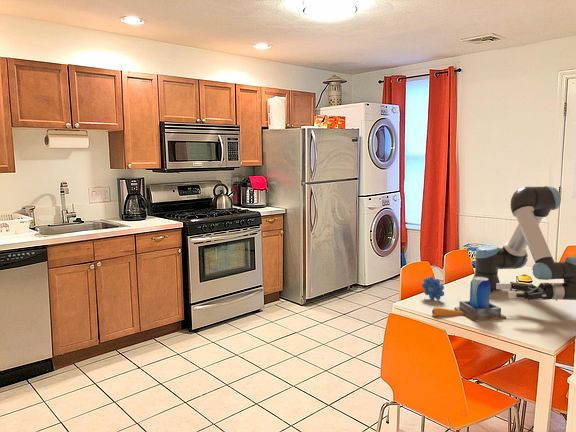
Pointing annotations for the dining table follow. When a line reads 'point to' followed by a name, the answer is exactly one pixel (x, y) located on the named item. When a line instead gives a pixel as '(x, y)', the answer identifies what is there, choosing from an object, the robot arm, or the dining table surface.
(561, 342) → the dining table surface
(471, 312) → the holder
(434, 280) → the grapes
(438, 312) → the carrot
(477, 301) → the beer can
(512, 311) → the dining table surface
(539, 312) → the dining table surface
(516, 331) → the dining table surface
